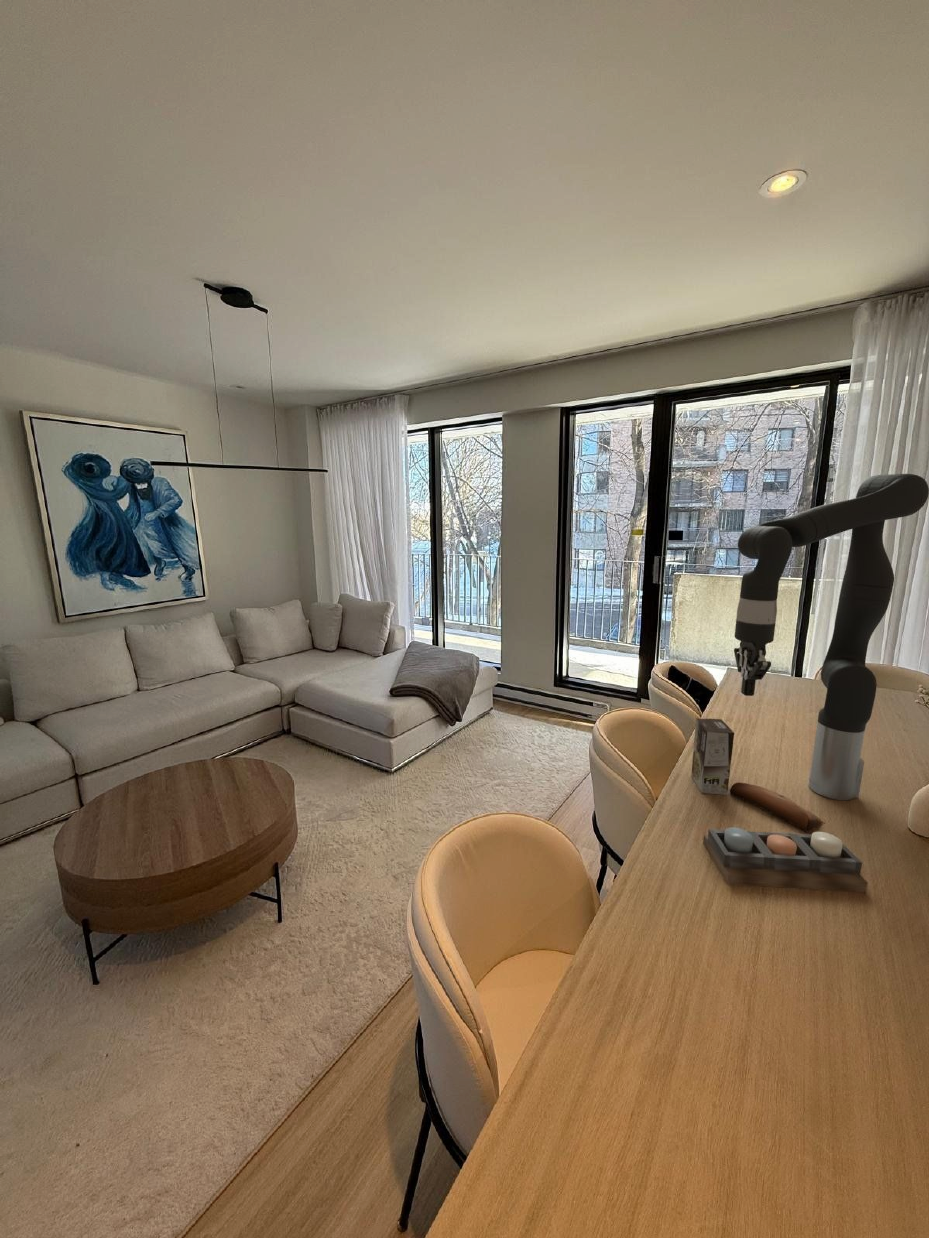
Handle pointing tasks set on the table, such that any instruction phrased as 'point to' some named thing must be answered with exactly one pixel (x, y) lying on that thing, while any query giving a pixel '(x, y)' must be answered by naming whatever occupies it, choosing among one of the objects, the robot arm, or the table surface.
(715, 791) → the coffee box
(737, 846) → the slate button
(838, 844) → the cream button
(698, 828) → the table surface
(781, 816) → the sunglasses case
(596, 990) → the table surface
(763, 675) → the robot arm
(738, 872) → the gray compartment tray
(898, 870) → the table surface
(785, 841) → the tan rounded oval piece
